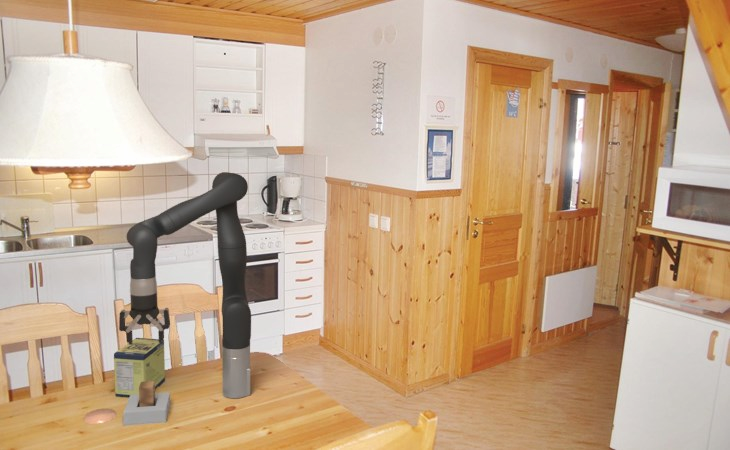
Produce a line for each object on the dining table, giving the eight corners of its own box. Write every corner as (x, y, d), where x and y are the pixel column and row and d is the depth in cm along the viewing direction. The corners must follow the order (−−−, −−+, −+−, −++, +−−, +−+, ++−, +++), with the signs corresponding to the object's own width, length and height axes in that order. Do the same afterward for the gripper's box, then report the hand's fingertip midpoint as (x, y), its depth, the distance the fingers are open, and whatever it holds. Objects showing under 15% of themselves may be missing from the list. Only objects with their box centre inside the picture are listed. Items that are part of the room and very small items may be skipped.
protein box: (165, 380, 202) (164, 338, 200) (144, 400, 187) (143, 355, 184) (137, 378, 203) (136, 337, 201) (114, 398, 188) (112, 353, 185)
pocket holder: (170, 405, 184) (169, 392, 183) (165, 423, 172) (165, 410, 172) (130, 408, 181) (130, 395, 181) (123, 427, 170) (123, 413, 169)
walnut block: (155, 410, 179) (154, 381, 178) (153, 417, 175) (152, 386, 174) (142, 411, 178) (141, 381, 177) (139, 418, 174) (138, 387, 173)
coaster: (118, 409, 180) (118, 407, 180) (112, 423, 171) (112, 421, 171) (88, 412, 178) (87, 409, 178) (80, 426, 169) (80, 423, 169)
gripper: (170, 287, 176) (171, 337, 178) (120, 288, 173) (123, 339, 175) (167, 293, 169) (168, 345, 171) (115, 295, 165) (118, 348, 168)
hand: (145, 342), depth 173 cm, fingers open, 8 cm apart
